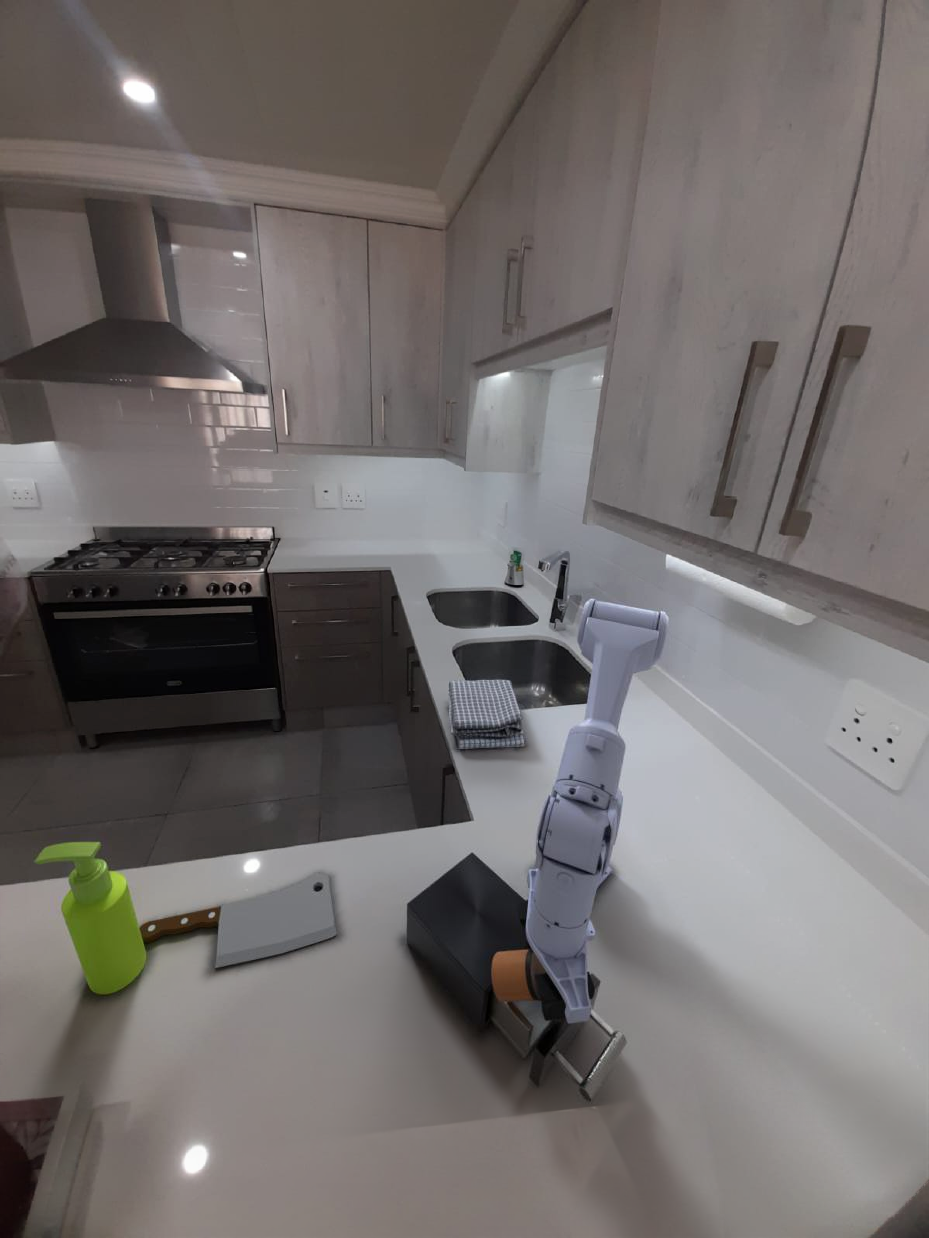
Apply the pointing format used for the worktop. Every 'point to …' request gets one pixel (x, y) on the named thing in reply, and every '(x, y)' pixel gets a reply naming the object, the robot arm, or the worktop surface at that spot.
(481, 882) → the black drawer cabinet
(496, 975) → the spice tin
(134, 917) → the soap dispenser
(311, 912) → the kitchen cleaver
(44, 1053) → the worktop surface
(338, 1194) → the worktop surface
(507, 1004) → the drawer
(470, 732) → the towel
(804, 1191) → the worktop surface
